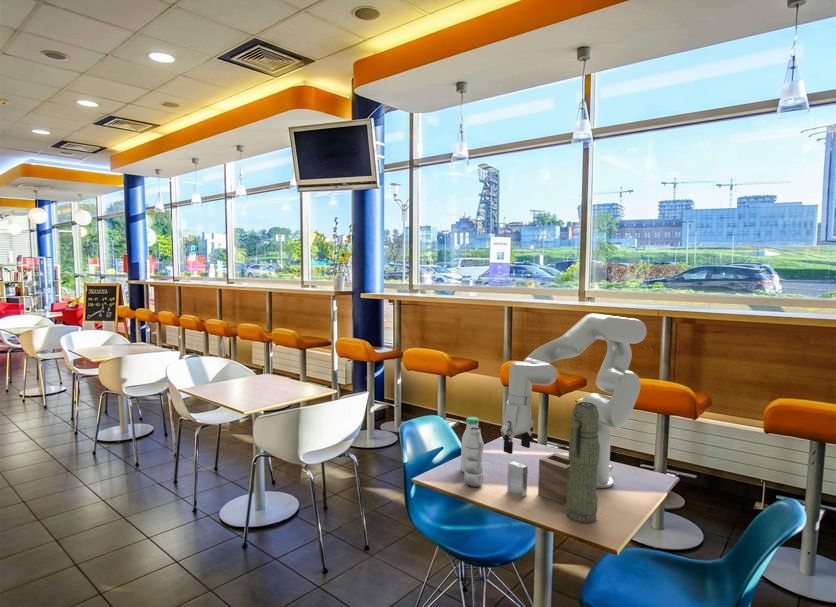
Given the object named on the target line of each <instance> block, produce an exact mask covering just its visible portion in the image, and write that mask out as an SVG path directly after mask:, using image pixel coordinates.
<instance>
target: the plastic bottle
mask: <svg viewBox="0 0 836 607" xmlns="http://www.w3.org/2000/svg"><path fill="white" fill-rule="evenodd" d="M469 434H470V435H469V437H468V438H467V439H466V441H465V449H466V471H465V473H464V475H463V479H464V483H465V484H466V485H467V486H469V487H480V486H482V485H483V482H484V472H483V454H484V447H485V443H484V442H485V441H483V437H482V436H481V437H480V435H481V428H480V427H479V426H478V427H471V428H470V432H469Z"/></svg>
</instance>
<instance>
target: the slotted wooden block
mask: <svg viewBox="0 0 836 607" xmlns="http://www.w3.org/2000/svg"><path fill="white" fill-rule="evenodd" d="M538 460H539V463H538V482H537V483H538V489H537V490H538V491H537V494H538V496H541V497H544V498H547V499H550V500H551V501H555V502H556V503H559V504H562V505H567V493H568V490H569V477H570V460H569V455H565V454H563V453H562V454H561V453H558V452H554V453H551V454H549V455H546V456H544V457H542V458H539V459H538Z"/></svg>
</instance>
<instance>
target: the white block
mask: <svg viewBox="0 0 836 607" xmlns="http://www.w3.org/2000/svg"><path fill="white" fill-rule="evenodd" d="M507 463H508V464H507V493H510V494H512V495H514V496H517V497H520V498H524V497H526V496H527V494H528V492H527V491H528V465H525V464H523V463H519V462H517V461H514V460H513V461H509V462H507Z"/></svg>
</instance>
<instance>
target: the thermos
mask: <svg viewBox="0 0 836 607" xmlns="http://www.w3.org/2000/svg"><path fill="white" fill-rule="evenodd" d="M571 416H572V420H571V422H572V423H571V434H570V435H571V436H570V438H569V443H568V444H569V445H568V457H569V460H570V477H569V490H568V493H567V504H566V517H567V518H568V519H569V520H571V521H573V522H574V523H577V522H578V523H577V524H582V523H583V525H585V524H586V525H587V524H588V525H589V524H593V523H595V522H596V521H597V512H598V505H599V504H598V502H599V500H598V499H599V498H598V494H597V488H596V484H597V465H598V464H599V453H600V444H599V441H598V435H597V434H598V427H599V413H598V410H597V406H596V405H594V404H592V403H588V402H582V401H581V402H577V403H575V405H574V407H573V409H572V415H571Z"/></svg>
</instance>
